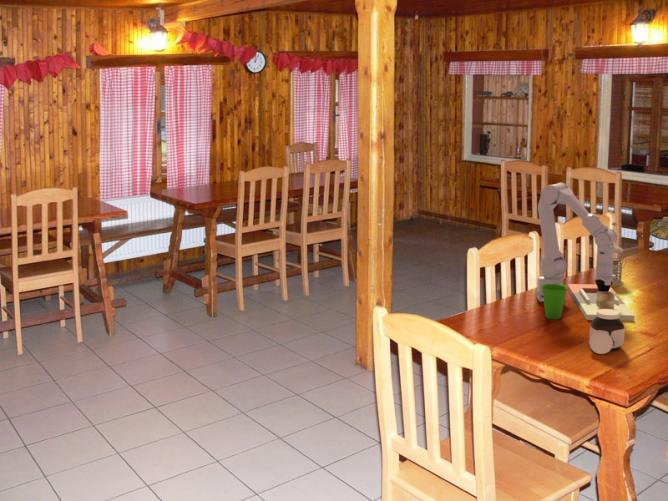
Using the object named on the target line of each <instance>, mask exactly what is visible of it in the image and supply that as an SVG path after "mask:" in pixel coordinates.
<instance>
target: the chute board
mask: <svg viewBox="0 0 668 501" xmlns="http://www.w3.org/2000/svg"><path fill="white" fill-rule="evenodd" d="M566 286H567V287H568V289H567V291H568V292H569V293H570V296H571V297H572V299H573V300H574V302H575V303H576V305H577V307H578V309H579V310H580V312H581V313H582V315H583V316H584V318H585V319H586V321H592V320H593V319H594V318H595V317H597V310H600V308H599V307H598V306H597V305H596V303H597V291H598V288H597V285H596V283H593V284H590V283H589V284H587V283H567V284H566ZM609 291H611V292H612V293H613V294H614V295H615V298H614V309H611V310H616V311H618V312H620V317H619V319H620V320H621V321H622V322H634V321H635V318H636V317H635V314H634V313H633V312H632V311H631V309H630V308H629V307H628V306H627V304H626V303H625V302H624V301H623V299H622V298H620V296H619V295H618V293H617V292H616V291H615V290H614V288H612V286H611V287H610V289H609Z"/></svg>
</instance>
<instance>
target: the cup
mask: <svg viewBox="0 0 668 501" xmlns="http://www.w3.org/2000/svg"><path fill="white" fill-rule="evenodd" d="M541 288H542V289H543V298H544V302H543V305H544V315H545V317H546V318H547V319H550V320H558V319H561V317H562V313H563V309H564V303H565V302H564V300H565V301H566V294H567V291H568V287H567V285H564V284H563V285H561V284H545V285H542V286H541Z"/></svg>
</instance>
